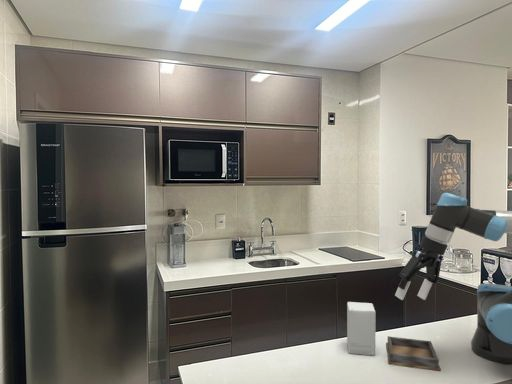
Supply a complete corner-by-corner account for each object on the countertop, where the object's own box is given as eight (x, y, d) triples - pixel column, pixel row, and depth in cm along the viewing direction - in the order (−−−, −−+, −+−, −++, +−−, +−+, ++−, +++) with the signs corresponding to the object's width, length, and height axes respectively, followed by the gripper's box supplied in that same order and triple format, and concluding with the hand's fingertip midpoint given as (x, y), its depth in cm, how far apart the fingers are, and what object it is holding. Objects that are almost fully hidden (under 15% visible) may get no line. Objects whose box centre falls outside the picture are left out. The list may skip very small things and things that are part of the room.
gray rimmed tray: (432, 349, 123) (432, 340, 122) (440, 371, 108) (440, 361, 108) (386, 344, 127) (386, 335, 127) (388, 364, 113) (388, 354, 113)
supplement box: (376, 356, 118) (376, 311, 118) (348, 353, 120) (348, 309, 120) (372, 344, 127) (372, 302, 127) (346, 342, 129) (346, 301, 129)
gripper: (444, 238, 125) (420, 292, 129) (404, 230, 111) (379, 291, 114) (464, 247, 119) (439, 303, 122) (426, 240, 105) (398, 304, 108)
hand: (410, 297), depth 118 cm, fingers open, 13 cm apart
